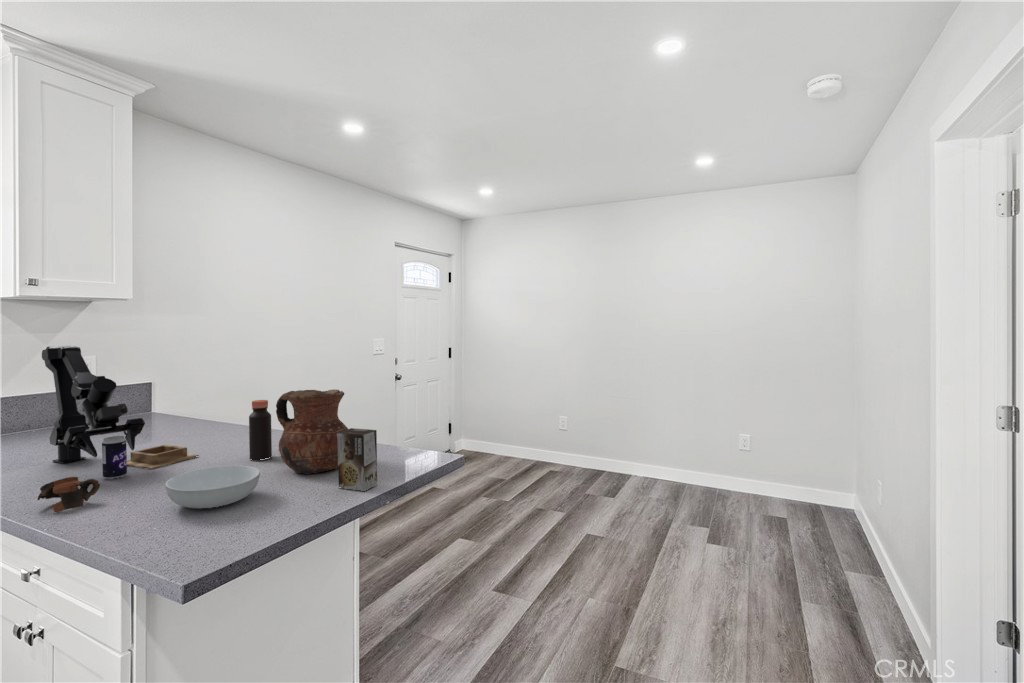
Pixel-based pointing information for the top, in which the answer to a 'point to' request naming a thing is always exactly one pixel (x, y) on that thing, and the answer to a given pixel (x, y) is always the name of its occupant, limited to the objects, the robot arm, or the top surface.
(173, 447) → the socket board
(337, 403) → the jug
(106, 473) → the beverage can
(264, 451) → the bottle
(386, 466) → the top surface
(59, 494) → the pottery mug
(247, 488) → the serving bowl
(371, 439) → the coffee box
